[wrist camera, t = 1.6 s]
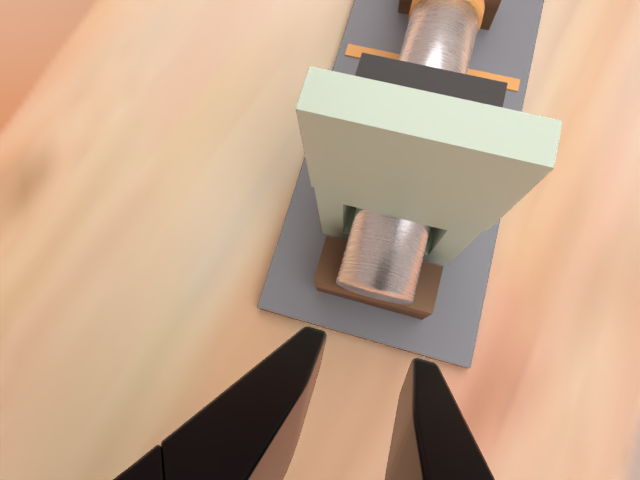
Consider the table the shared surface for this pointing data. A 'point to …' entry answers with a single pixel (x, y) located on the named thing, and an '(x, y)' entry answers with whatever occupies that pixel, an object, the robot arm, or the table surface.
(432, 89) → the dark grey rectangular block
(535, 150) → the pale green stepped block
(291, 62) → the table surface
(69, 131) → the table surface
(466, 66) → the pipe rig
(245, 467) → the robot arm
